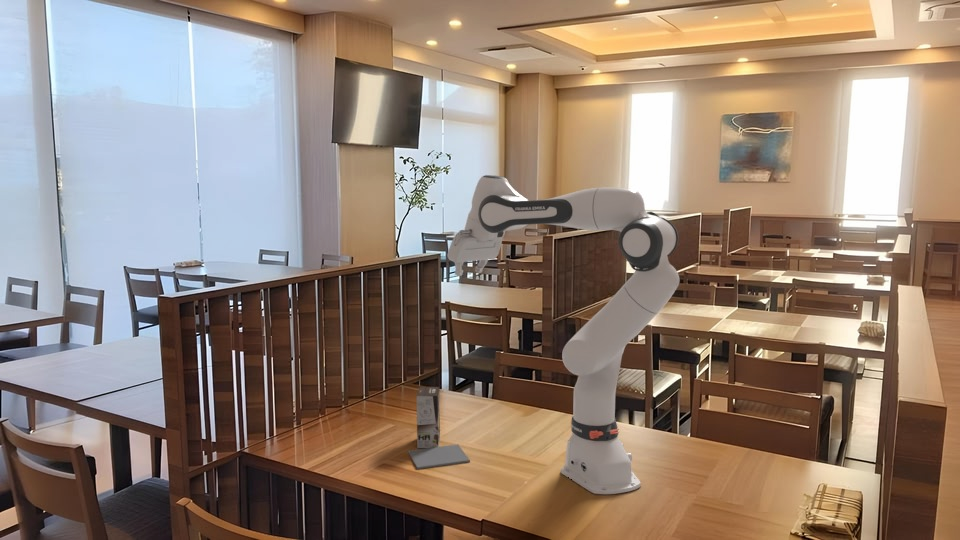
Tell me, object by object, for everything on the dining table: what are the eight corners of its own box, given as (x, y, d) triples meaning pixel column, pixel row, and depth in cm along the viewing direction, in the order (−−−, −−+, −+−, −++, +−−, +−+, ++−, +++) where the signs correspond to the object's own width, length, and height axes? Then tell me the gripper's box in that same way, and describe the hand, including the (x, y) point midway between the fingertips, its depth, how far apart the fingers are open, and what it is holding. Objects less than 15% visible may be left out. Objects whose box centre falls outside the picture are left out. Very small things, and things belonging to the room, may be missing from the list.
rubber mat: (469, 462, 188) (469, 460, 188) (417, 469, 184) (417, 467, 184) (458, 446, 200) (458, 444, 200) (408, 452, 195) (408, 450, 195)
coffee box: (438, 448, 198) (437, 395, 196) (416, 448, 198) (415, 395, 196) (440, 437, 207) (440, 386, 205) (419, 437, 207) (418, 386, 205)
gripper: (465, 234, 184) (453, 280, 188) (508, 231, 200) (496, 274, 204) (449, 226, 187) (437, 272, 191) (492, 224, 204) (480, 267, 207)
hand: (468, 273), depth 198 cm, fingers open, 8 cm apart
